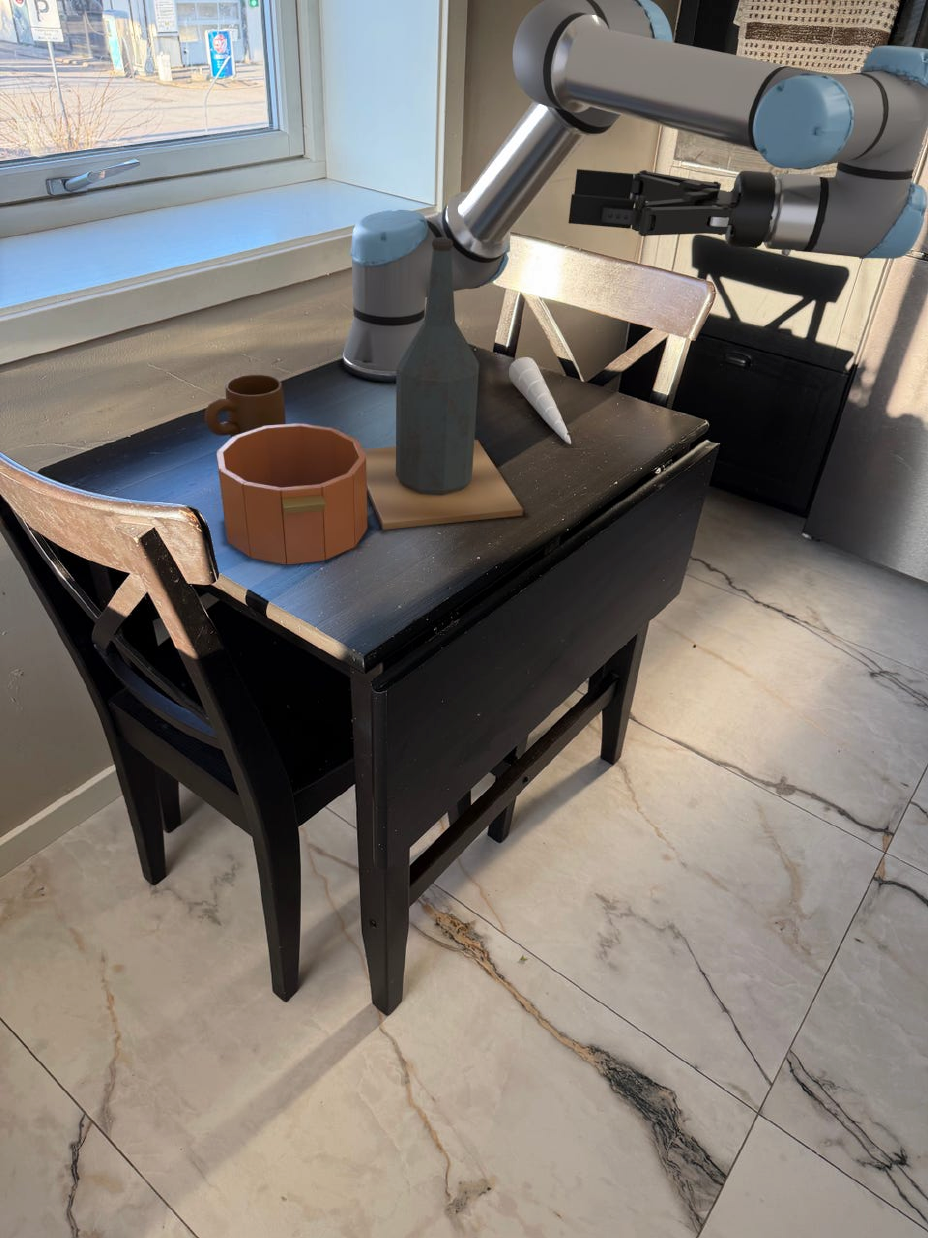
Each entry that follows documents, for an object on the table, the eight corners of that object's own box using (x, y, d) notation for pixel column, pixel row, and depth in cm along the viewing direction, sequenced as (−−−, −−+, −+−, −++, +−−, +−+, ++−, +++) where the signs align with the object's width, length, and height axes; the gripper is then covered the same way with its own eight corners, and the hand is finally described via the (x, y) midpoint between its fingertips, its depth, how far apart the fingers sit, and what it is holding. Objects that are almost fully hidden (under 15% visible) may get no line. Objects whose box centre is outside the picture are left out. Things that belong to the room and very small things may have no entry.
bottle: (448, 455, 125) (458, 224, 107) (487, 485, 119) (505, 245, 101) (381, 470, 120) (380, 232, 102) (419, 503, 114) (424, 254, 96)
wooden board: (352, 456, 125) (352, 449, 125) (477, 446, 130) (477, 439, 129) (382, 530, 110) (382, 523, 110) (522, 515, 115) (523, 508, 114)
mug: (231, 478, 119) (223, 411, 113) (194, 460, 122) (184, 394, 117) (299, 449, 126) (295, 384, 121) (262, 432, 130) (256, 369, 124)
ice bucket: (220, 491, 116) (211, 422, 110) (349, 480, 120) (347, 412, 114) (233, 580, 100) (223, 505, 94) (381, 564, 104) (380, 491, 99)
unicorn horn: (544, 448, 130) (548, 417, 127) (506, 384, 149) (508, 355, 146) (576, 447, 131) (580, 415, 128) (534, 383, 150) (537, 354, 147)
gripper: (775, 279, 91) (563, 260, 92) (747, 220, 110) (573, 205, 112) (795, 198, 86) (571, 180, 88) (762, 152, 106) (581, 138, 108)
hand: (572, 194), depth 100 cm, fingers open, 13 cm apart
